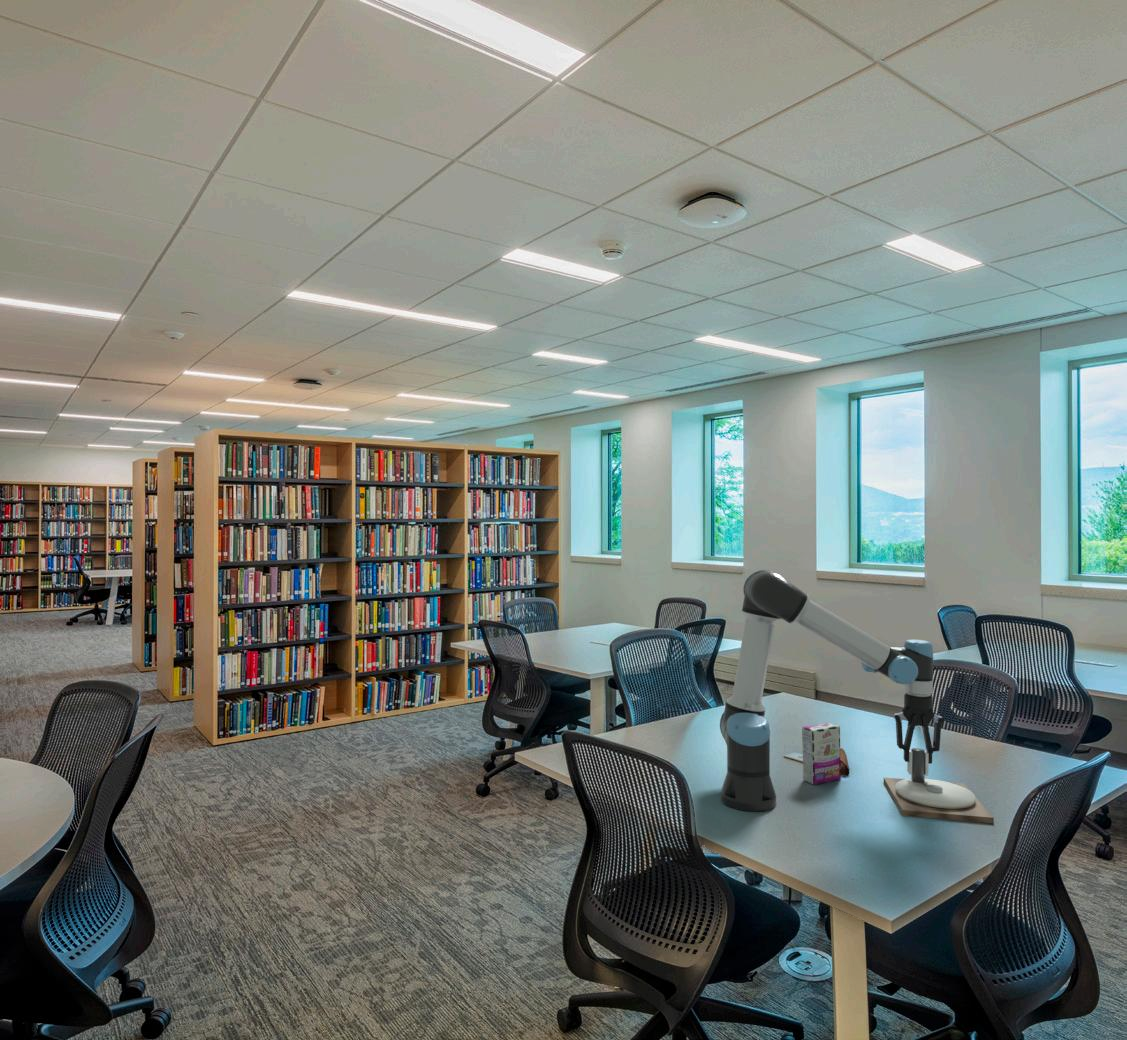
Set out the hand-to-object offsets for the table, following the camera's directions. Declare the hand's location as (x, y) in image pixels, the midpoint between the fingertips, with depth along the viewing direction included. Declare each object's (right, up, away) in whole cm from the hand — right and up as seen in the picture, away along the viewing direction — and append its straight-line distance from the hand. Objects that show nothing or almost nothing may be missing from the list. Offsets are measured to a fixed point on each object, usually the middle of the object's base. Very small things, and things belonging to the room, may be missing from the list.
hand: (917, 773), depth 214 cm
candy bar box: (-25, -5, +9) cm, 27 cm away
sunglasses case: (-16, -6, +23) cm, 28 cm away
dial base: (+1, -5, -8) cm, 10 cm away
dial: (+1, -3, -8) cm, 9 cm away
